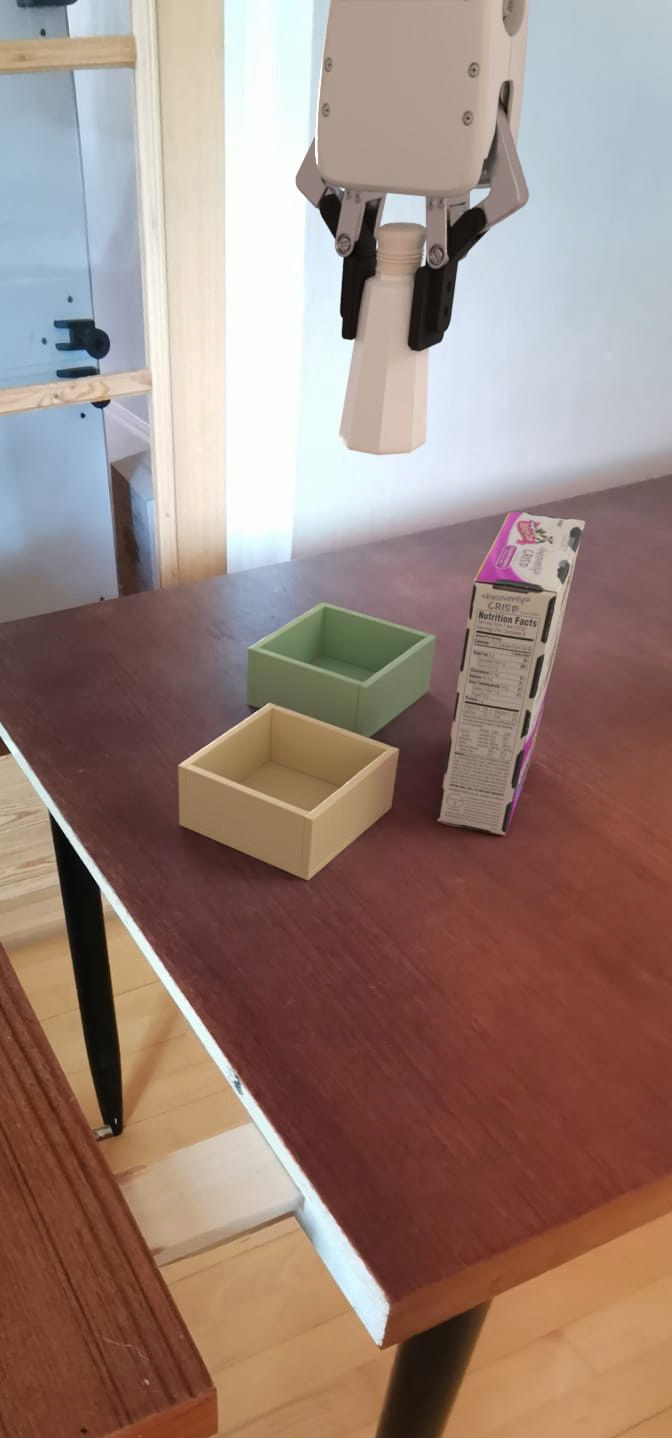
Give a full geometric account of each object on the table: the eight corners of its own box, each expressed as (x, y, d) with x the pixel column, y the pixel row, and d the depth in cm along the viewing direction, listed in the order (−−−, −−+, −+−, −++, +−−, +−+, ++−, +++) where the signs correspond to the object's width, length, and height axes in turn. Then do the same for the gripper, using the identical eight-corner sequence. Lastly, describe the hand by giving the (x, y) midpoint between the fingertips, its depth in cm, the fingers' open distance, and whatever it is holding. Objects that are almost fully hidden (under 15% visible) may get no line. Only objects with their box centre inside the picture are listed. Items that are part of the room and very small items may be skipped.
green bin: (428, 691, 85) (437, 635, 82) (360, 745, 79) (366, 687, 76) (318, 655, 90) (322, 601, 86) (246, 704, 84) (247, 648, 81)
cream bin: (391, 808, 73) (399, 748, 70) (308, 881, 68) (312, 819, 64) (267, 760, 78) (269, 702, 75) (179, 825, 72) (177, 765, 69)
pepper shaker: (376, 461, 65) (398, 238, 58) (320, 438, 69) (333, 224, 61) (443, 445, 67) (473, 227, 60) (386, 423, 71) (406, 214, 63)
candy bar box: (464, 743, 79) (508, 507, 68) (534, 756, 78) (590, 518, 67) (429, 824, 72) (471, 575, 61) (506, 840, 71) (563, 588, 59)
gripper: (637, -112, 50) (551, 347, 63) (328, -100, 57) (307, 310, 70) (570, -118, 46) (492, 377, 58) (245, -103, 53) (239, 334, 66)
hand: (392, 336), depth 64 cm, fingers closed on pepper shaker, 3 cm apart
